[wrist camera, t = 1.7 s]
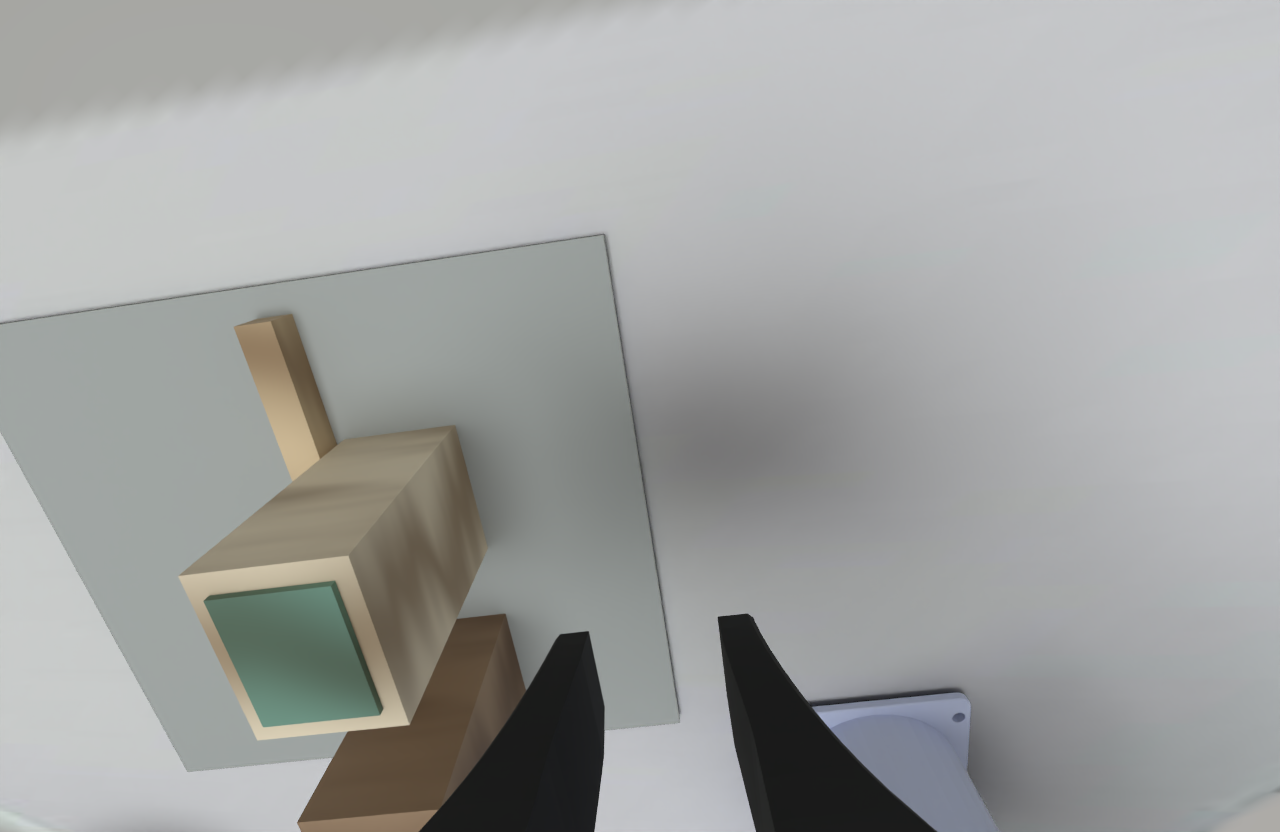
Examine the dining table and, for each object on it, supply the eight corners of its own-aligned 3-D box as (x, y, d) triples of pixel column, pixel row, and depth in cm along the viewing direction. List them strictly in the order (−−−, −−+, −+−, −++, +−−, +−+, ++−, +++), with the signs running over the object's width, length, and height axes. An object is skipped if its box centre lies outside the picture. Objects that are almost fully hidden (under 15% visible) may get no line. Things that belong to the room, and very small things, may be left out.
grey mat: (679, 715, 26) (679, 723, 26) (193, 764, 27) (187, 772, 27) (604, 234, 19) (603, 235, 19) (-42, 330, 20) (-55, 332, 20)
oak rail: (435, 729, 26) (425, 754, 25) (407, 732, 26) (397, 757, 25) (292, 313, 20) (270, 321, 18) (256, 318, 20) (233, 326, 19)
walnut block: (531, 710, 25) (483, 927, 18) (438, 719, 26) (353, 938, 18) (505, 613, 24) (440, 809, 16) (406, 624, 24) (297, 822, 16)
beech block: (488, 548, 23) (406, 732, 15) (384, 560, 23) (252, 747, 15) (455, 424, 21) (343, 560, 13) (343, 439, 21) (171, 581, 13)
